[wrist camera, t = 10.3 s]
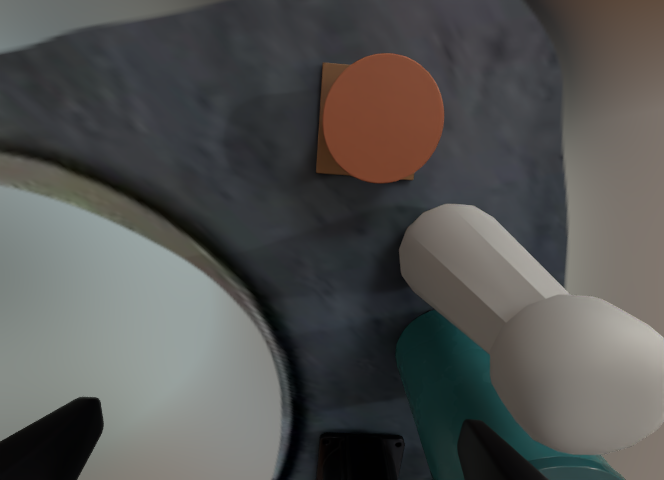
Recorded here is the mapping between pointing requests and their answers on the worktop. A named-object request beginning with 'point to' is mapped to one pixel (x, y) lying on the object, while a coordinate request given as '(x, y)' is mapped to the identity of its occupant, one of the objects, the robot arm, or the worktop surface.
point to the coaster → (324, 157)
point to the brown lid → (383, 118)
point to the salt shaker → (538, 335)
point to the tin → (469, 403)
